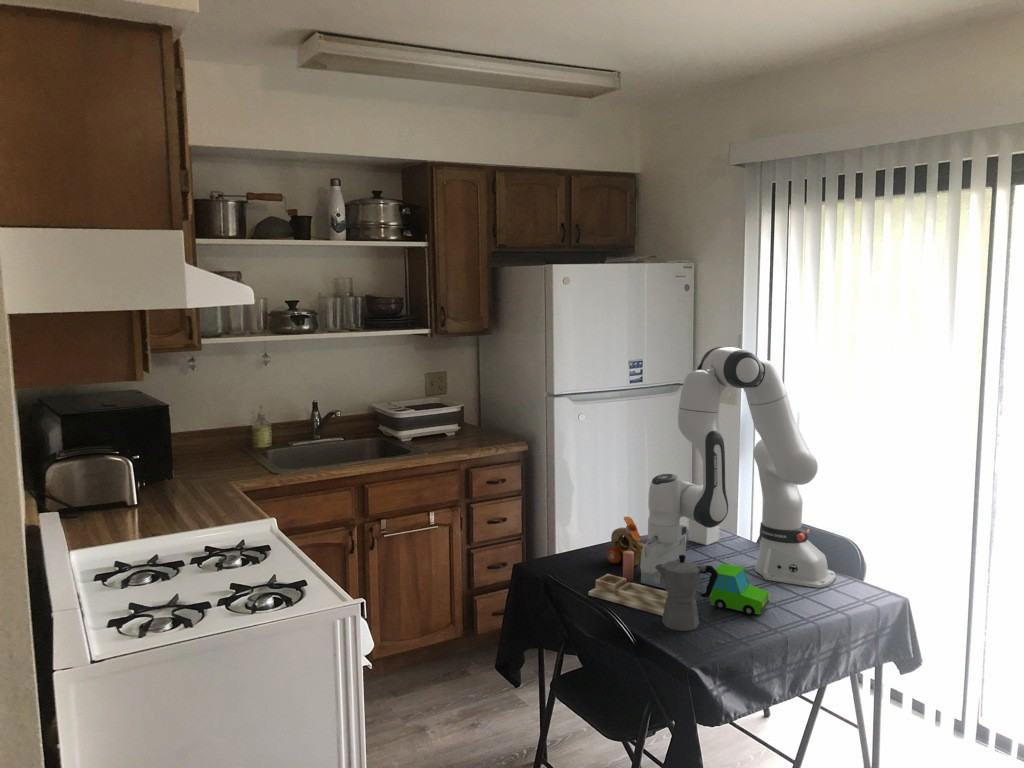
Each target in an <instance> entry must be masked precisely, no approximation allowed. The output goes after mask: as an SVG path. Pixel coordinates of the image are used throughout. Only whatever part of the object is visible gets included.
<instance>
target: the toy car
mask: <svg viewBox="0 0 1024 768" xmlns="http://www.w3.org/2000/svg"><path fill="white" fill-rule="evenodd" d="M714 569H715V570H716V571H717V572H718V577H717V579H716V582H715V584H714V587H713V589H712V592H711V594H710V605H713V606H715V608H716V609H717V610H718V609H720V610H719V611H724V610H726V609H732V610H736V611H740V612H743V614H744V615H745V616H747V617H753V616H754V615H761V614H762V613H763V612H764V610H766V608H767V607H768V606H769V604H770V597H771V595H770V592H769V591H768V590H765V589H762V588H760V587H757V586H755V585H751V582H750V579H749V578H748V577H749V576H748V575H747V571H746V568H745V567H744V566H739V565H735V564H729V563H725V562H724V563H723V562H721V563H720V564H719V565H718V566H717V567H716V568H714Z"/></svg>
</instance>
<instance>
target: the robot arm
mask: <svg viewBox="0 0 1024 768" xmlns="http://www.w3.org/2000/svg"><path fill="white" fill-rule="evenodd" d="M726 387H727V388H729V387H730V388H737V389H743V391H744V393H745V396H746V401H747V405H748V409H749V412H750V416H751V419H752V423H753V426H754V429H755V430H756V432H757V433H758V435H759V437H760V440H758V441H757V442H756V444H755V446H754V449H753V453H752V454H753V459H754V461H755V463H756V465H757V470H758V476H759V481H760V482H759V483H760V486H761V493H762V495H761V496H762V512H761V515H762V516H761V522H760V525H759V541H760V544H759V549H758V553H757V559H756V563H755V565H754V570H755V572H757V573H758V574H759V575H761V576H763V578H764V580H766V581H773V582H778V583H786V584H791V585H798V586H803V587H811V588H815V589H816V588H817V589H819V588H820V589H821V588H824V587H828V586H831V585H832V584H833V583H834V582H835V581H836V578H837V577H836V573H835V571H833V570H831V569H829V568H828V560H827V557H826V555H825V554H824V552H822V550H819V548H817V547H816V546H815V545H814V544H813V543H812V542H811V541H810V540H808V538H809V537H808V535H809V533H810V528H808V529H807V530H806V529H805V527H804V526H803V523H802V519H803V498H802V497H803V496H802V495H801V493H800V489H799V488H798V486H801V485H802V486H803V485H806V484H809V483H811V482H812V480H813V479H814V478H815V477H816V476H817V473H818V468H819V467H818V462H817V459H816V457H815V456H814V455H813V454H812V452H811V451H810V449H809V447H808V445H807V443H806V441H805V439H804V437H803V435H802V432H801V431H800V429H799V427H798V425H797V422H796V420H795V417H794V415H793V410H792V407H791V404H790V401H789V400H790V399H789V397H788V393H787V390H786V386H785V384H784V380H783V378H782V376H781V373H780V372H779V369H778V368H777V366H776V364H775V363H774V362H772V361H770V360H767V359H760V358H759V357H758V356H757V355H755V353H753V352H752V351H750V350H747V349H741V348H738V347H733V346H729V347H725V346H724V347H723V346H719V347H714V348H711V349H709V350H708V351H706V352H705V353H704V354H703V356H702V358H701V360H700V363H699V365H698V366H697V370H696V369H695V370H693V371H691V372H689V373H687V375H686V376H685V378H684V381H683V384H682V388H681V391H680V396H679V405H678V413H677V424H678V425H677V426H678V429H679V431H680V433H681V434H682V435H683V437H684V439H686V440H688V442H690V443H691V444H692V445H693V446H694V447H695V448H696V449H697V451H698V452H699V454H700V457H701V460H702V485H703V487H701V485H697V484H695V483H693V482H691V481H690V482H689V481H686V480H683V479H682V478H679V476H678V475H676V474H673V473H661V474H658V475H655V476H654V477H652V480H651V482H650V484H649V490H648V503H647V504H648V505H647V508H648V511H649V514H648V519H647V538H648V539H647V540H646V543H644V544H645V545H644V546H643V548H642V553H641V556H640V563H639V564H640V565H639V567H640V572H641V571H642V572H644V573H648V574H653V576H654V582H655V583H658V584H659V583H660V582H662V576H660V573H659V571H658V570H657V569H656V568H655V567H656V565H659V564H665V563H667V562H668V561H678V560H679V555H685V553H686V546H687V535H686V534H687V533H688V526H687V525H683V524H681V518H683V517H685V518H687V519H688V520H689V519H691V520H694V521H696V522H698V523H699V524H701V525H703V526H705V527H707V528H712V527H715V526H717V525H719V526H720V524H721V523H723V521H724V520H725V519H726V517H727V515H728V512H729V502H728V497H727V490H726V488H727V487H726V454H725V453H726V451H725V442H724V441H725V440H724V438H723V436H722V434H721V430H720V424H719V423H720V422H719V414H720V413H719V411H720V400H721V396H722V394H723V392H724V390H725V389H726Z"/></svg>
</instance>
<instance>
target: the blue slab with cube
mask: <svg viewBox="0 0 1024 768" xmlns="http://www.w3.org/2000/svg"><path fill="white" fill-rule="evenodd" d="M660 576H661V574H660ZM640 584H644V585H648V586H653V587H657V588H659V589H660V588H661V589H663V590H664V589H665V590H666V587H665V581H664V579H663V578H662V582H660V583H659V584H658V583H655V582H654V576H653V574H648V573H644V572H642V571H641V570H640Z"/></svg>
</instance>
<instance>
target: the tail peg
mask: <svg viewBox="0 0 1024 768" xmlns="http://www.w3.org/2000/svg"><path fill="white" fill-rule="evenodd" d="M634 568H635V567H634V552H632V551H624V552H623V560H622V578H626V579H627V582H633V581H634Z"/></svg>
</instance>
